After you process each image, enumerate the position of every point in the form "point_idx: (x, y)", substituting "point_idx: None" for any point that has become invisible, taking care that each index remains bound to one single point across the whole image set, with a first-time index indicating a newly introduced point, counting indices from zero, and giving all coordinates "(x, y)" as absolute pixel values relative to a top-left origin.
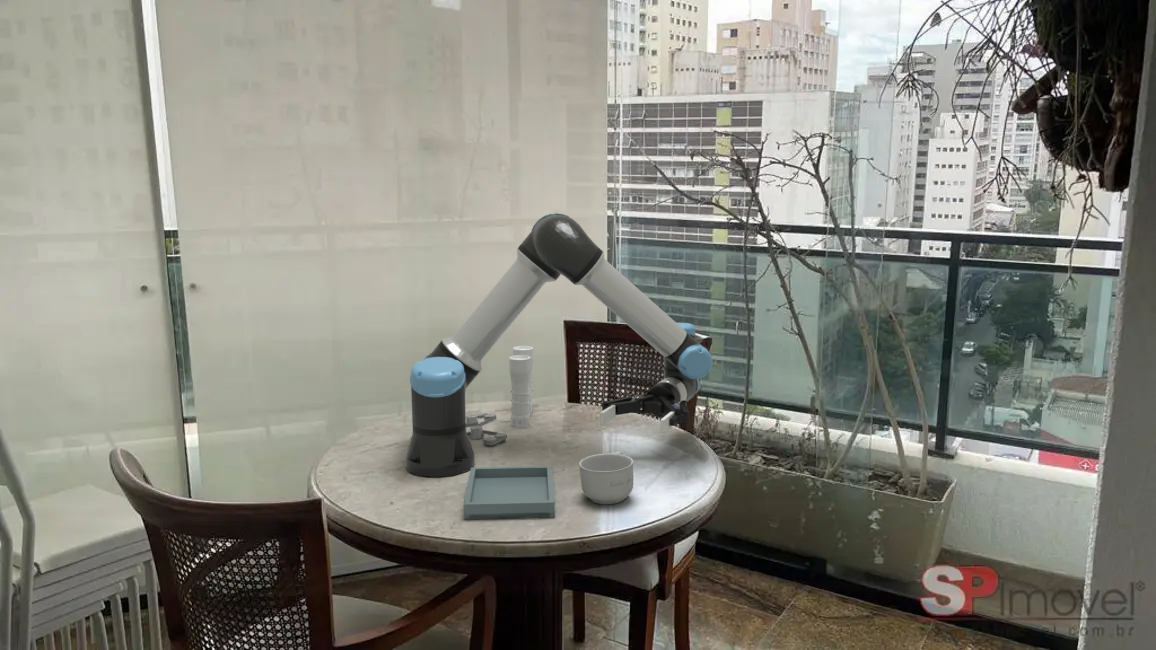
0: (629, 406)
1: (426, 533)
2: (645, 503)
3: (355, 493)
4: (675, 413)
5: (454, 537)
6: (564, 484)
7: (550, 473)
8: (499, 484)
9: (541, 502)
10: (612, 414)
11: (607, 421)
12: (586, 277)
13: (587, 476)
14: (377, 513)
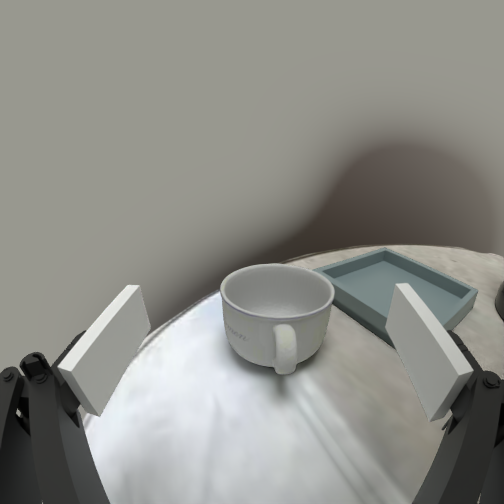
0: (429, 496)
1: (381, 246)
2: (204, 351)
3: (484, 260)
4: (55, 377)
5: (358, 248)
6: (381, 360)
7: None
8: (432, 303)
9: (324, 266)
10: (425, 377)
11: (399, 349)
12: None
13: (293, 277)
14: (439, 251)
